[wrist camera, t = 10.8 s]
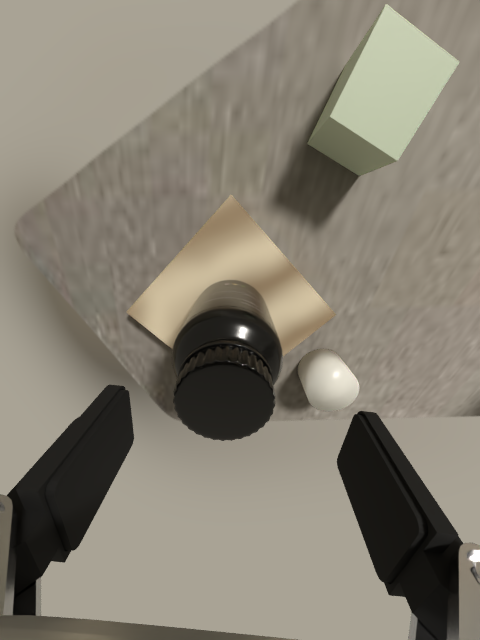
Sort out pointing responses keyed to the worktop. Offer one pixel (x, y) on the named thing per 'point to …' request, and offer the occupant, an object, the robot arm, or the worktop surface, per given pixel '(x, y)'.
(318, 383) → the white rounded lump
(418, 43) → the sage block
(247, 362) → the supplement bottle
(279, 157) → the worktop surface
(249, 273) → the birch board
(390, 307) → the worktop surface
